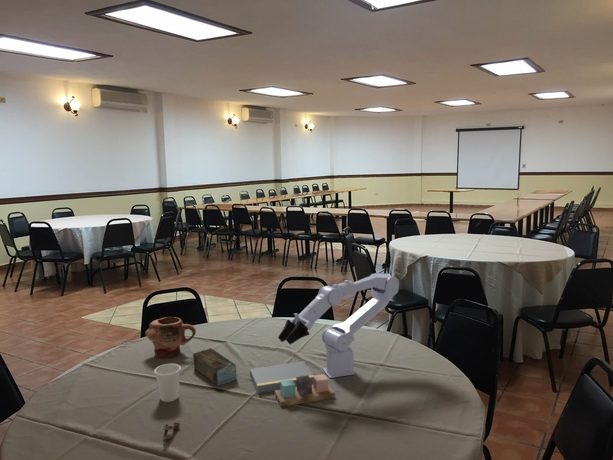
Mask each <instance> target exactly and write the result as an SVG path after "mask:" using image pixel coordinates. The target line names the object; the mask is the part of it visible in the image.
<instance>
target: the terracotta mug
mask: <svg viewBox="0 0 613 460" xmlns="http://www.w3.org/2000/svg"><path fill="white" fill-rule="evenodd" d="M186 330H189V331H191V333H192V334H191V336H190V337H188V338H186ZM196 331H197V330H196V328H195V327H194V326H193V325H192V324H189V323H185V324H184V322H183V320H182V319H181V318H179V317H175V316H167V317H162V318H159V319H155V320H153V321H152V322H150V323H149V326H148V329H147V330H145V332H144V333H145V336H146V337H147V338H148V340H149V341H150V342H151V343H152V344H153V347H154V355H155V356H156V357H157V358H162V359H163V358H166V359H167V358H173V357H176V356H178V355H179V353H180V352H181V347H180V346H184V345H186V344H188V343H189V342H190V341H191V340H192V339H193V338H194V337H195V336H196Z"/></svg>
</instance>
